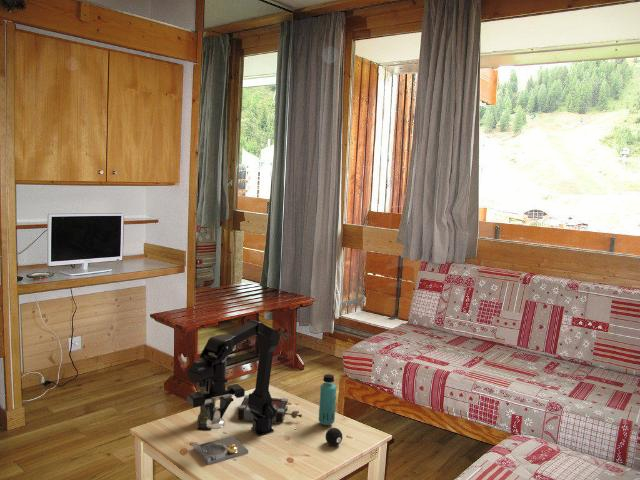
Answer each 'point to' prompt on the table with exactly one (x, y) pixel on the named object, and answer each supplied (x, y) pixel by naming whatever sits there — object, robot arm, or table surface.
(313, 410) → the table surface
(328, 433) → the billiard ball
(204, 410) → the mechanical leg
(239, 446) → the plate
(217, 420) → the silver metal knob
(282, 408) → the machine vise
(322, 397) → the beverage bottle
